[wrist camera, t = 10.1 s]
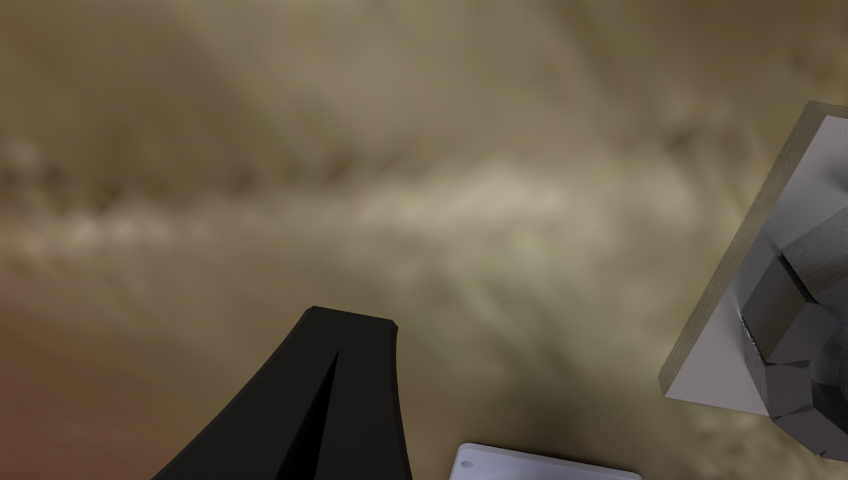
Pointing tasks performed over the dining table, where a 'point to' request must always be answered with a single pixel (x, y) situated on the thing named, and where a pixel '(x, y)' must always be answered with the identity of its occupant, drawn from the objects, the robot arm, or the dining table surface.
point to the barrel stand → (779, 297)
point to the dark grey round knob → (837, 356)
